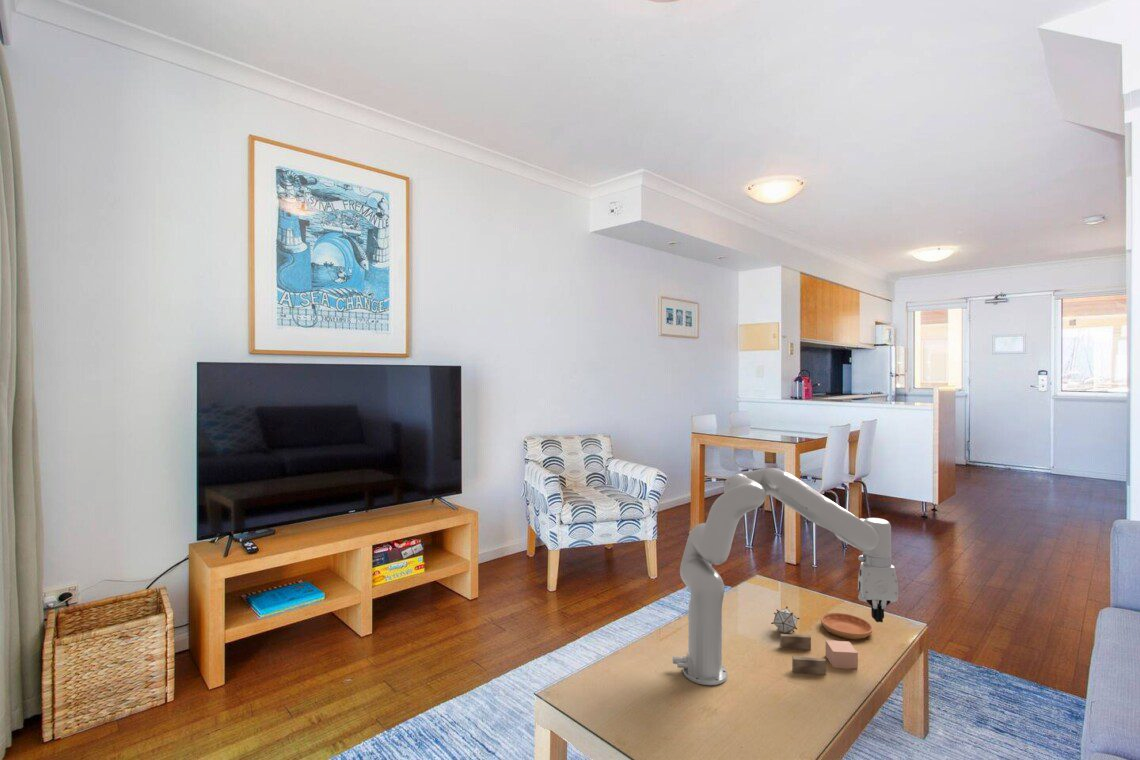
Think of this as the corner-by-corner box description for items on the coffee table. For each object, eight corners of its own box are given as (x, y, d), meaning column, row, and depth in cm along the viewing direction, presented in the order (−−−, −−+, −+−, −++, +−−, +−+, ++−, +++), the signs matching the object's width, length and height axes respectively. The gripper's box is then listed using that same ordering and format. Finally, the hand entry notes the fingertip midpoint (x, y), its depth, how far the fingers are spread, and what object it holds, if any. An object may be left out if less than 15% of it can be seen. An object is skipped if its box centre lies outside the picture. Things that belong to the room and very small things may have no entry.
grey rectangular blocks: (793, 672, 165) (793, 659, 165) (780, 646, 180) (780, 633, 180) (825, 674, 163) (825, 661, 163) (809, 647, 179) (809, 635, 179)
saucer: (861, 621, 198) (861, 613, 198) (881, 643, 182) (881, 634, 182) (814, 619, 200) (814, 611, 200) (830, 641, 184) (830, 632, 184)
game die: (791, 645, 189) (806, 628, 183) (767, 635, 189) (782, 619, 183) (788, 622, 196) (802, 605, 191) (765, 613, 196) (779, 596, 191)
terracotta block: (833, 667, 167) (833, 651, 167) (825, 656, 174) (825, 640, 174) (857, 669, 167) (857, 652, 166) (849, 657, 174) (849, 641, 173)
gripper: (855, 563, 166) (856, 625, 166) (909, 565, 164) (910, 627, 164) (846, 555, 173) (847, 614, 174) (897, 556, 171) (898, 615, 172)
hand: (877, 620), depth 169 cm, fingers closed
